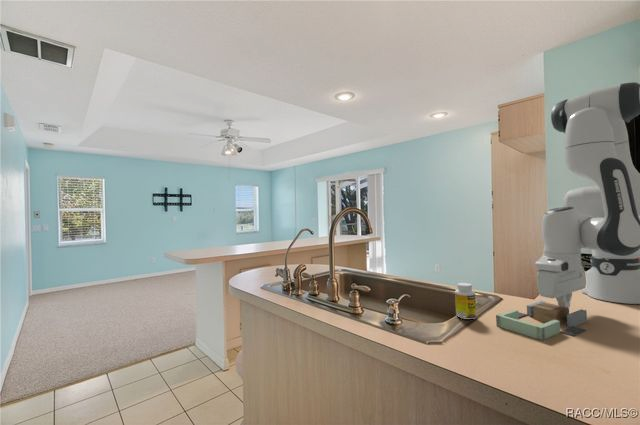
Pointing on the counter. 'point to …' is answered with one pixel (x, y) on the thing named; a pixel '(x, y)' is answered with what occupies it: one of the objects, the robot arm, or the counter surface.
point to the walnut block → (550, 312)
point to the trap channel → (540, 331)
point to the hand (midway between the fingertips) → (564, 307)
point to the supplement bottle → (465, 301)
